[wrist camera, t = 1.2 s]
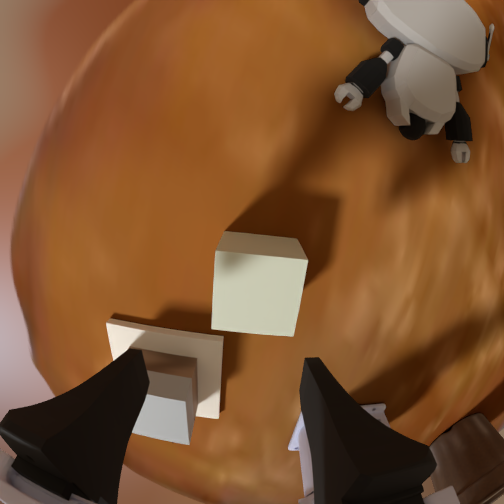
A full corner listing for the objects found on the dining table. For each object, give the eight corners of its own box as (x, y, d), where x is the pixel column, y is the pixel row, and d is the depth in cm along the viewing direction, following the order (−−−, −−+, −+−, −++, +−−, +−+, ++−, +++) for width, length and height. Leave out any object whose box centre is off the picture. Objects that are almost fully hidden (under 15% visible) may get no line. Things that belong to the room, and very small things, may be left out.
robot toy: (449, 167, 18) (470, 29, 13) (483, 176, 14) (498, 19, 9) (315, 108, 18) (351, -36, 12) (330, 100, 13) (366, -62, 8)
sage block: (297, 238, 20) (308, 260, 15) (286, 302, 21) (293, 336, 17) (224, 230, 19) (215, 250, 15) (219, 296, 21) (211, 328, 17)
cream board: (223, 336, 22) (222, 341, 21) (219, 413, 25) (218, 419, 24) (109, 318, 22) (106, 322, 21) (126, 395, 25) (123, 401, 24)
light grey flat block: (191, 378, 19) (185, 401, 17) (193, 423, 21) (189, 444, 19) (118, 363, 19) (106, 384, 17) (130, 410, 21) (122, 429, 19)
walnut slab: (197, 358, 22) (191, 378, 19) (198, 404, 24) (193, 423, 21) (129, 346, 22) (118, 363, 19) (138, 392, 23) (130, 410, 21)
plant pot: (428, 426, 27) (468, 512, 12) (504, 387, 26) (549, 450, 11) (403, 473, 32) (425, 540, 17) (472, 442, 31) (500, 497, 16)
